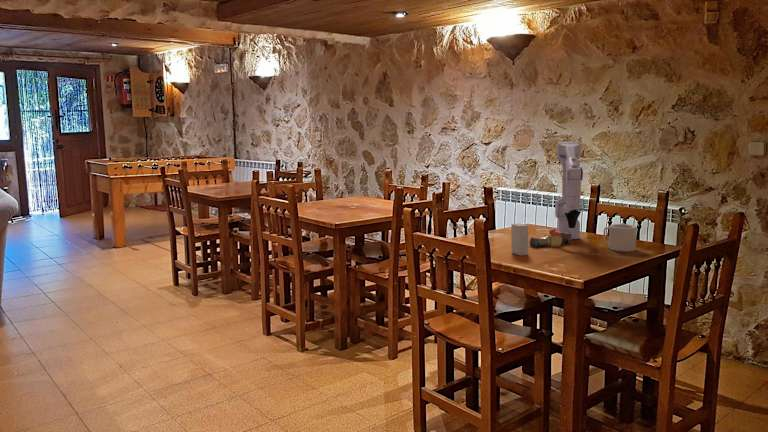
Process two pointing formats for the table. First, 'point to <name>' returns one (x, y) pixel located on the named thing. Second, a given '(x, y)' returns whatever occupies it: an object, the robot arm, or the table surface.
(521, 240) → the skincare box
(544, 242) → the pipe
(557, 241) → the valve body
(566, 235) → the lever
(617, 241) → the mug
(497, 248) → the table surface
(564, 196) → the robot arm
